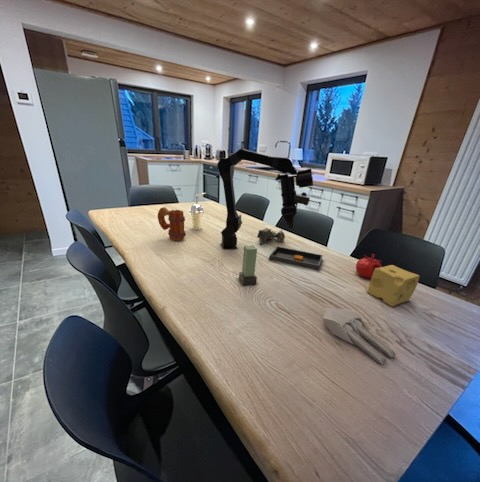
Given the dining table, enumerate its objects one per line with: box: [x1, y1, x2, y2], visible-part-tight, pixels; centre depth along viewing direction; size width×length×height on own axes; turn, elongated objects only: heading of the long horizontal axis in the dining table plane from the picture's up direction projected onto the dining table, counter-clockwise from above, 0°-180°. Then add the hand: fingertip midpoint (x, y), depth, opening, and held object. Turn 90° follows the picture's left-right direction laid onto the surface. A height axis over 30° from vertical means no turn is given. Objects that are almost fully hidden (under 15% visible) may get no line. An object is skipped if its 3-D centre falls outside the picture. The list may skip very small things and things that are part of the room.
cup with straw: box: [188, 192, 207, 231], centre depth 146 cm, size 8×9×20 cm
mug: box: [157, 206, 187, 242], centre depth 130 cm, size 15×8×15 cm, turn 71°
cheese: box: [367, 264, 420, 307], centre depth 92 cm, size 10×11×10 cm
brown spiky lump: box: [256, 227, 286, 246], centre depth 137 cm, size 12×11×15 cm
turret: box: [322, 307, 396, 365], centre depth 71 cm, size 10×20×5 cm, turn 33°
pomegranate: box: [355, 253, 383, 280], centre depth 107 cm, size 10×10×9 cm
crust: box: [294, 255, 303, 262], centre depth 117 cm, size 4×4×2 cm
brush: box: [238, 244, 258, 286], centre depth 94 cm, size 5×5×14 cm
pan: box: [268, 246, 324, 271], centre depth 117 cm, size 21×13×3 cm, turn 68°
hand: (291, 225), depth 117 cm, fingers open, 9 cm apart
